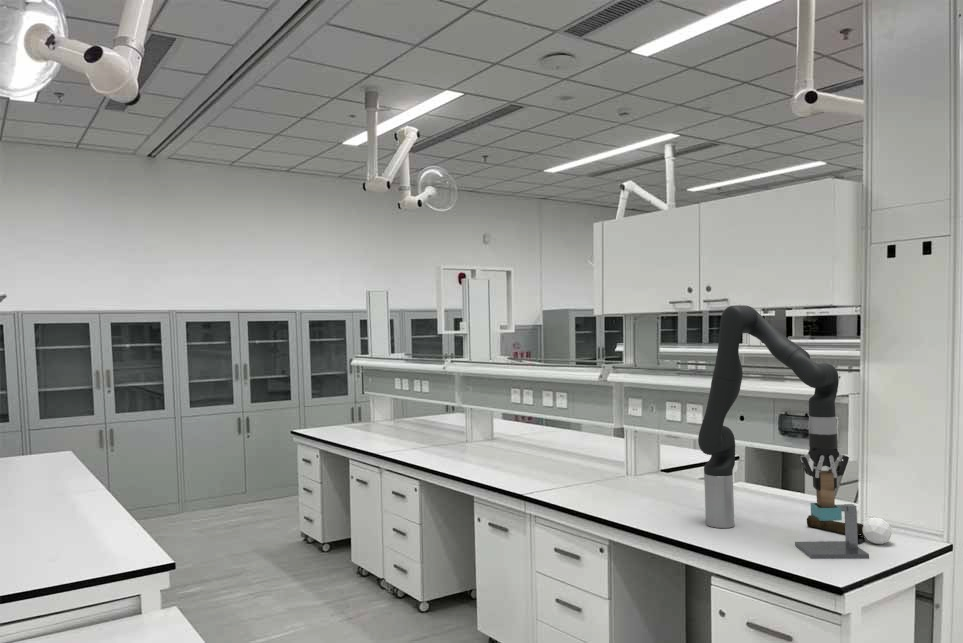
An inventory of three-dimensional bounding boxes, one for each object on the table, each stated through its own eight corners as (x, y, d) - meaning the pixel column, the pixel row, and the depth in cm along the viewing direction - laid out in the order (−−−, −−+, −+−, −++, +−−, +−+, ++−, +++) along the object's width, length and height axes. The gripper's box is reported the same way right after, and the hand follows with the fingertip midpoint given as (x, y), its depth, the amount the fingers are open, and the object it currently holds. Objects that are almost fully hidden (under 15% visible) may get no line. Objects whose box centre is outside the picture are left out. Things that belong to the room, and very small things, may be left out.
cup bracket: (795, 545, 207) (793, 500, 208) (849, 545, 206) (847, 500, 206) (811, 558, 195) (809, 510, 196) (869, 558, 194) (867, 510, 194)
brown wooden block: (816, 504, 203) (815, 470, 203) (829, 504, 203) (828, 470, 203) (822, 507, 199) (820, 473, 200) (834, 507, 199) (833, 472, 199)
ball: (885, 553, 206) (898, 537, 201) (858, 543, 208) (870, 526, 203) (883, 535, 212) (896, 518, 207) (856, 525, 214) (868, 508, 209)
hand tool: (805, 527, 226) (805, 513, 226) (812, 525, 228) (812, 511, 228) (862, 542, 210) (861, 526, 210) (869, 539, 212) (869, 524, 212)
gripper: (841, 429, 205) (843, 486, 204) (793, 430, 206) (795, 487, 205) (853, 432, 197) (855, 492, 197) (803, 433, 198) (805, 493, 198)
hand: (825, 489), depth 201 cm, fingers closed on brown wooden block, 3 cm apart
